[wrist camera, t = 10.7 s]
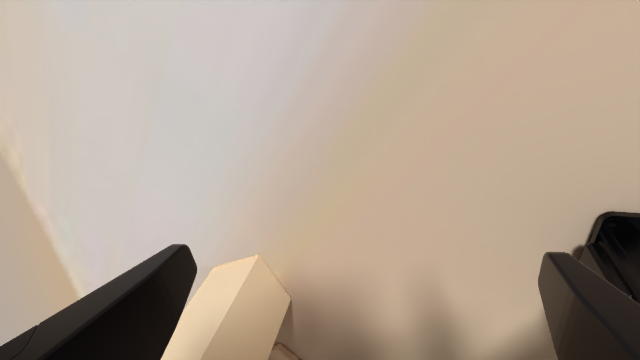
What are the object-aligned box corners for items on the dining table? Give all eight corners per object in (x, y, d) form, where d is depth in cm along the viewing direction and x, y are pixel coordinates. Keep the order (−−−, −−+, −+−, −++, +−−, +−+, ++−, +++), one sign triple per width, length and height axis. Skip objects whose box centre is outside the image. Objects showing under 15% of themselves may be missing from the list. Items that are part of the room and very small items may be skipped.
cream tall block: (259, 254, 29) (182, 391, 19) (291, 298, 30) (235, 443, 21) (214, 266, 31) (125, 395, 21) (246, 307, 33) (177, 443, 23)
